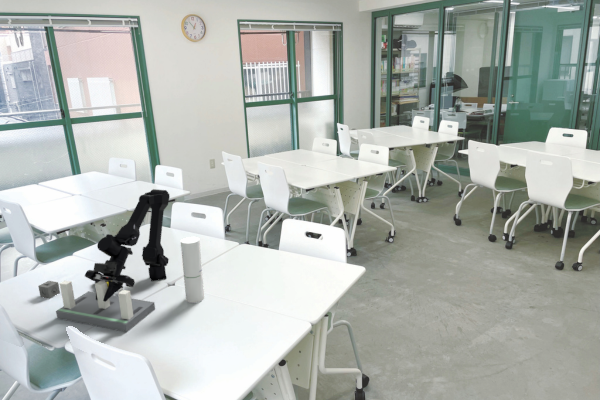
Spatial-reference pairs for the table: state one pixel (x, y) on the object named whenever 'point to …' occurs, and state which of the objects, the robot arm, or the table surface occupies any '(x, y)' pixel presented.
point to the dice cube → (49, 289)
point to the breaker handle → (102, 294)
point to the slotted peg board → (116, 316)
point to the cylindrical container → (192, 269)
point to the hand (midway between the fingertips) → (100, 300)
